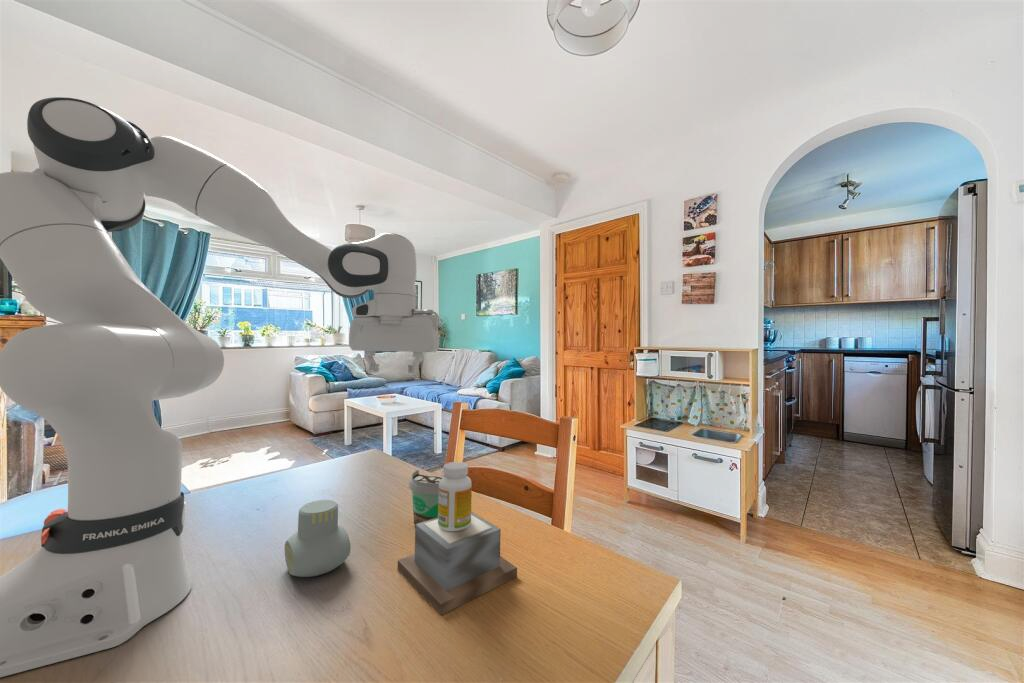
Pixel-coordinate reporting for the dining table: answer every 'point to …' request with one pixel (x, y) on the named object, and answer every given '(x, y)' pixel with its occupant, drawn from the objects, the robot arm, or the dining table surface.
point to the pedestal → (456, 563)
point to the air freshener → (317, 541)
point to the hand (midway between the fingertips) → (393, 372)
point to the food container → (424, 496)
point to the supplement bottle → (454, 498)
